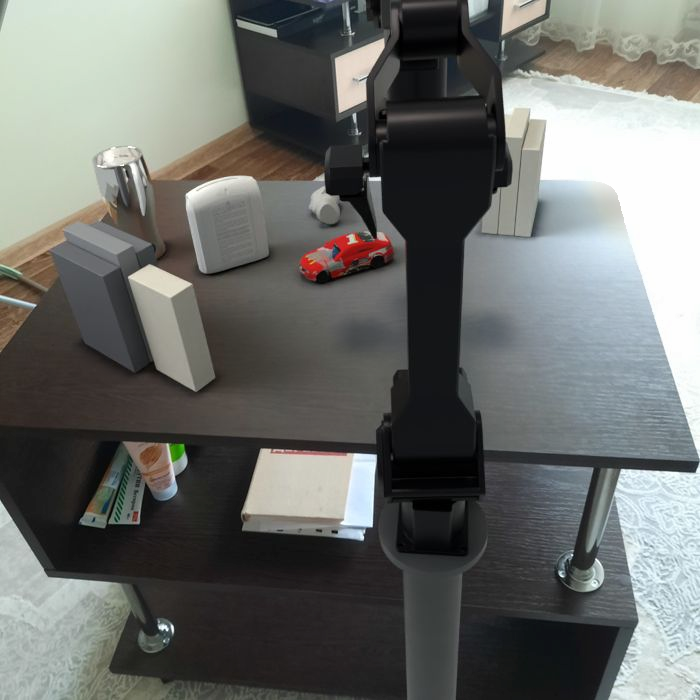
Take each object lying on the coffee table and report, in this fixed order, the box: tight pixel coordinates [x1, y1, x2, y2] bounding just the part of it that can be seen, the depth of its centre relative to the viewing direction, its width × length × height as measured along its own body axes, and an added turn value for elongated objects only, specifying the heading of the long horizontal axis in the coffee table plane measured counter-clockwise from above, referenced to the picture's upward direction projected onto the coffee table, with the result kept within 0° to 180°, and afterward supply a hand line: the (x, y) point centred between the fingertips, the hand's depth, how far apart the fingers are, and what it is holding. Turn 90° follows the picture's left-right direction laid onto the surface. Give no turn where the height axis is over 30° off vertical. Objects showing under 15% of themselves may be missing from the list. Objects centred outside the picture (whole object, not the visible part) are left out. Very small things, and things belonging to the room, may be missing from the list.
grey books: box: [49, 219, 159, 374], centre depth 85 cm, size 10×7×15 cm
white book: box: [128, 264, 216, 393], centre depth 80 cm, size 7×3×13 cm, turn 51°
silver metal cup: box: [92, 145, 167, 260], centre depth 101 cm, size 7×7×15 cm
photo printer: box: [185, 175, 270, 275], centre depth 99 cm, size 10×4×12 cm, turn 116°
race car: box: [298, 230, 395, 284], centre depth 98 cm, size 13×5×4 cm, turn 111°
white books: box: [481, 107, 547, 238], centre depth 102 cm, size 10×7×14 cm
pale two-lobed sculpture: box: [308, 185, 341, 226], centre depth 110 cm, size 4×8×5 cm
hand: (417, 234), depth 80 cm, fingers open, 9 cm apart
